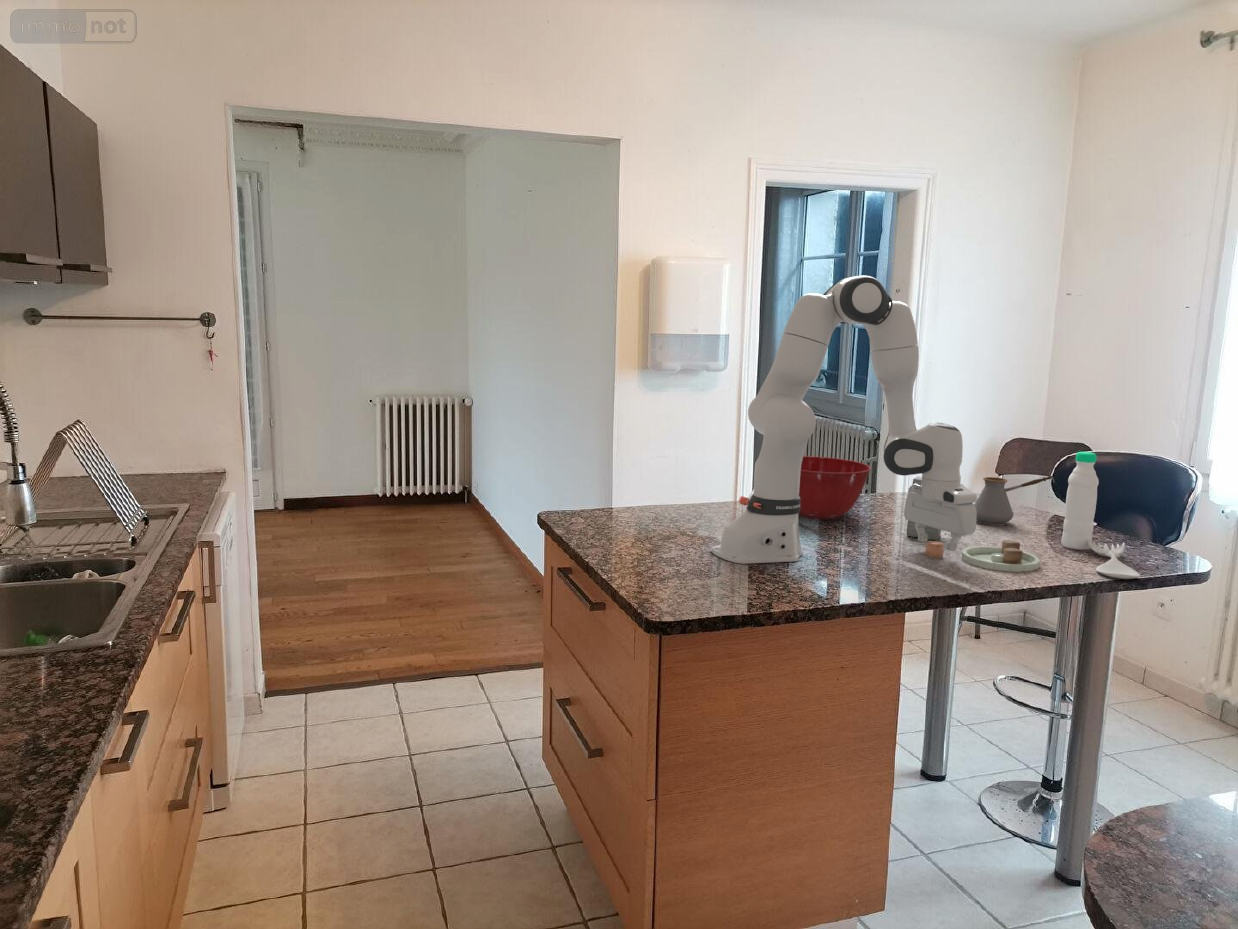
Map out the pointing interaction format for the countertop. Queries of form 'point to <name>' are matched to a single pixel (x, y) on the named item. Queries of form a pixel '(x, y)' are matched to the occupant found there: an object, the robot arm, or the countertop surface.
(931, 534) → the skincare box
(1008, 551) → the seated bead
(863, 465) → the mixing bowl
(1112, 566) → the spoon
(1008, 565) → the groove tray
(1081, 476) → the milk bottle
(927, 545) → the loose bead
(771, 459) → the robot arm
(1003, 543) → the seated bead
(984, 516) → the coffee pot
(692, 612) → the countertop surface
